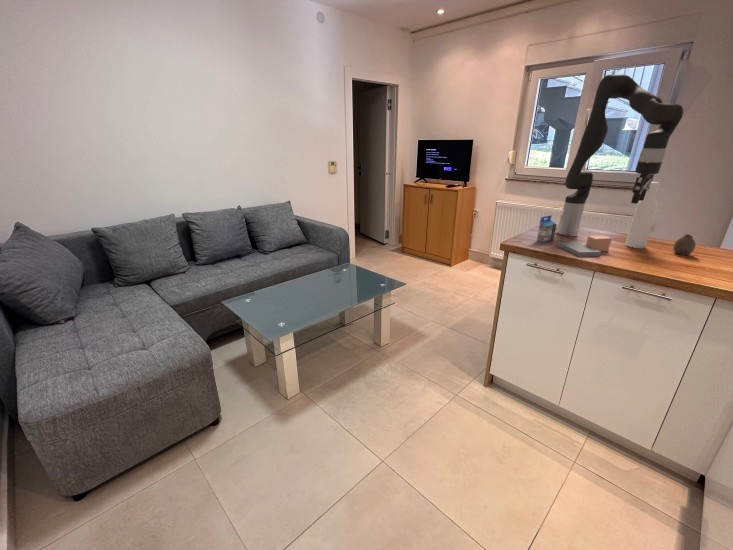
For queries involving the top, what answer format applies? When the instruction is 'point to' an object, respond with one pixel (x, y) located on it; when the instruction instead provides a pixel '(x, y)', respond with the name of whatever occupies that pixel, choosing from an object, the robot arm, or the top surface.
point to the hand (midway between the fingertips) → (637, 201)
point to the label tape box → (546, 229)
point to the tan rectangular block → (599, 242)
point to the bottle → (643, 219)
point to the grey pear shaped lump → (684, 245)
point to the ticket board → (579, 249)
